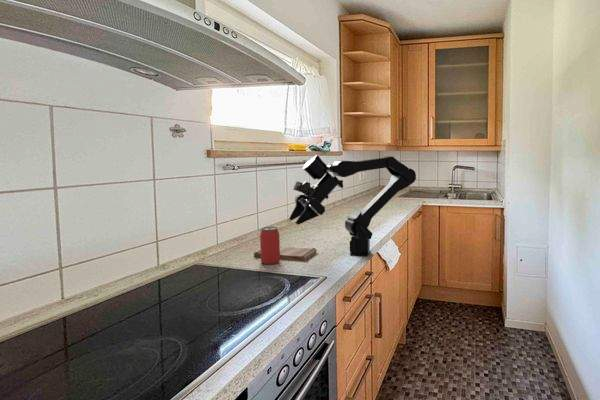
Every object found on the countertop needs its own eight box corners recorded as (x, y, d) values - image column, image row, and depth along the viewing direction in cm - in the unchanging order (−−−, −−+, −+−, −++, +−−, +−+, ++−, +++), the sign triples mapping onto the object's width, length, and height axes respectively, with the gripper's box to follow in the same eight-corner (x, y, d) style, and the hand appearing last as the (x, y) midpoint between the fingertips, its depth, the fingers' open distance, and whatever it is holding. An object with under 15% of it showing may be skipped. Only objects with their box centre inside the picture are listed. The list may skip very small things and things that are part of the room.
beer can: (282, 260, 148) (281, 226, 146) (276, 265, 141) (275, 230, 140) (264, 259, 150) (263, 226, 148) (258, 264, 143) (257, 229, 142)
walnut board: (316, 252, 157) (316, 248, 157) (305, 260, 146) (305, 255, 146) (268, 249, 164) (267, 244, 164) (253, 256, 153) (253, 252, 153)
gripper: (300, 171, 155) (271, 203, 153) (315, 174, 137) (282, 209, 135) (320, 192, 158) (292, 223, 156) (338, 197, 140) (306, 232, 138)
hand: (293, 221), depth 146 cm, fingers open, 9 cm apart
